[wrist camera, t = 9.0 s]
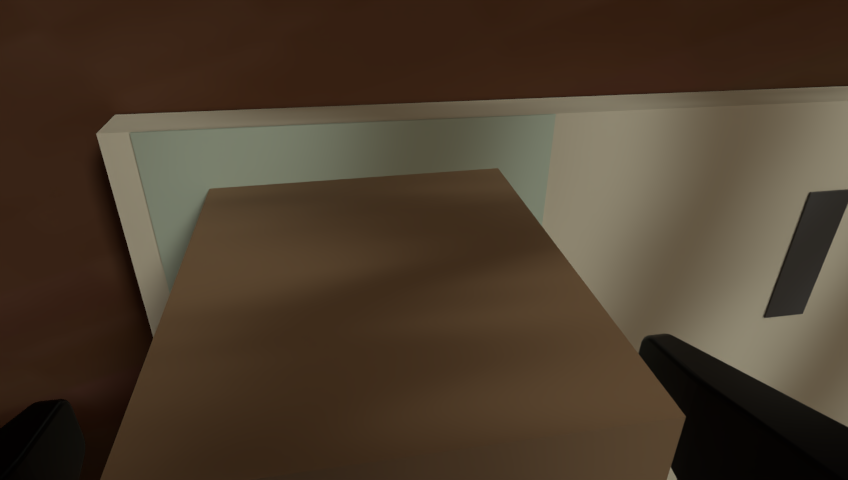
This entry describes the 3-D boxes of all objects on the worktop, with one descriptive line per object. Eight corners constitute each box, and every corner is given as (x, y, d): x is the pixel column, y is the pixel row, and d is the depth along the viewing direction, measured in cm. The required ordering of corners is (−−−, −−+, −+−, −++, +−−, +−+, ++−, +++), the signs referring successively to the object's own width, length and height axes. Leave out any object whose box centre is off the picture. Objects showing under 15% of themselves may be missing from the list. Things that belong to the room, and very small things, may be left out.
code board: (1067, 77, 13) (1125, 89, 12) (820, 526, 21) (843, 554, 20) (114, 115, 10) (95, 134, 9) (247, 626, 18) (244, 664, 17)
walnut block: (498, 167, 10) (685, 416, 5) (484, 377, 13) (603, 687, 8) (209, 188, 10) (91, 502, 4) (254, 406, 12) (211, 772, 7)
